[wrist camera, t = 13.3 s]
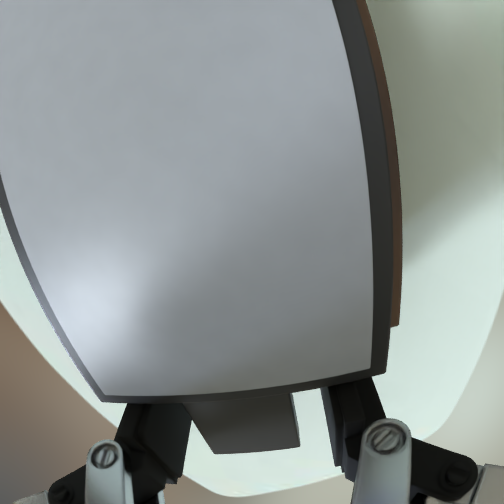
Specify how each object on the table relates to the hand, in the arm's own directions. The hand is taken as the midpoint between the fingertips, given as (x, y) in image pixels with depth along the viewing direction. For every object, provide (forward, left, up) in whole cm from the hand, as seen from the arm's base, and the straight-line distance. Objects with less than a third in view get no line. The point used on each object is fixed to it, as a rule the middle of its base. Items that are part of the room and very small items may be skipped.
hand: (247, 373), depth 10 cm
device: (-6, 0, +3) cm, 7 cm away
